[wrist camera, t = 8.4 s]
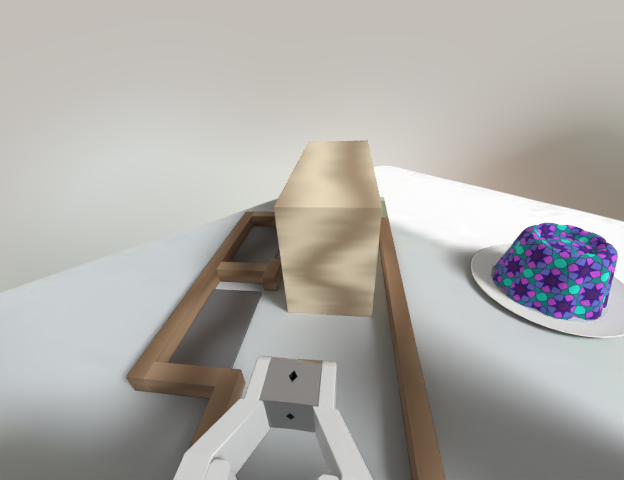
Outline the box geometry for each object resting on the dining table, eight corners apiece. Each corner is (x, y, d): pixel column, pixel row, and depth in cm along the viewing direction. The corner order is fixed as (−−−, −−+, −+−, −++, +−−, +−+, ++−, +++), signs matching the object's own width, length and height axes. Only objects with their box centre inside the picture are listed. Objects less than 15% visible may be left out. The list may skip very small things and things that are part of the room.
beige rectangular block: (288, 313, 24) (273, 207, 18) (312, 216, 39) (308, 141, 33) (371, 318, 23) (382, 207, 18) (363, 216, 38) (367, 140, 33)
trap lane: (91, 456, 15) (77, 444, 15) (258, 206, 42) (256, 196, 41) (442, 507, 13) (448, 496, 12) (382, 207, 40) (383, 197, 39)
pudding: (458, 245, 31) (469, 202, 28) (586, 256, 28) (613, 209, 26) (487, 329, 22) (509, 277, 19) (685, 358, 19) (746, 302, 16)
